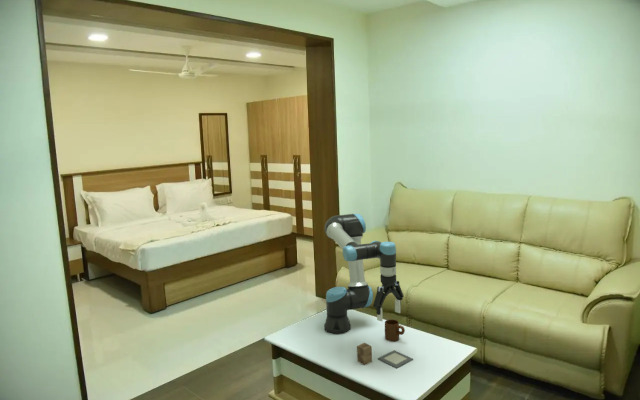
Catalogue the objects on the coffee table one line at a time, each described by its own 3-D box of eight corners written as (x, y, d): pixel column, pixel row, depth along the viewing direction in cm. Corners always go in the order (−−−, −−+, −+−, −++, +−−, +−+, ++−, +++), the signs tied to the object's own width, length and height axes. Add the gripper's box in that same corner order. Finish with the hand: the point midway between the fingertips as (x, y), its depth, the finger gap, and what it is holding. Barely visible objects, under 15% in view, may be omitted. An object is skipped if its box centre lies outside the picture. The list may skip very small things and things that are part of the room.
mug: (408, 340, 234) (408, 324, 233) (400, 345, 229) (399, 328, 228) (390, 334, 243) (390, 317, 241) (382, 338, 238) (381, 322, 236)
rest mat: (377, 359, 216) (377, 358, 216) (394, 351, 223) (394, 350, 223) (396, 368, 207) (396, 367, 207) (413, 359, 214) (413, 358, 214)
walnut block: (357, 361, 215) (357, 345, 214) (364, 357, 218) (364, 342, 217) (364, 365, 211) (364, 349, 210) (372, 361, 214) (371, 346, 213)
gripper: (377, 282, 201) (378, 326, 204) (410, 269, 218) (410, 310, 221) (364, 278, 207) (365, 321, 210) (398, 267, 223) (398, 307, 226)
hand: (388, 316), depth 215 cm, fingers open, 13 cm apart
